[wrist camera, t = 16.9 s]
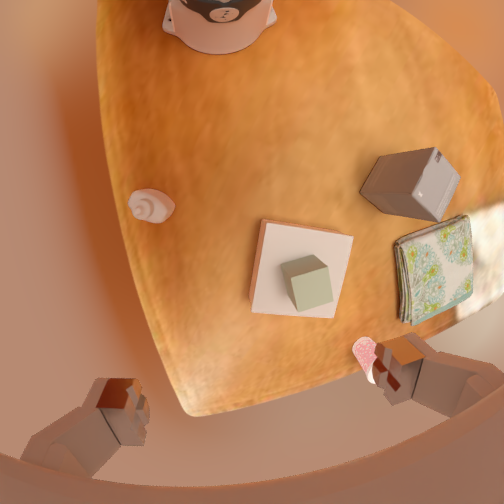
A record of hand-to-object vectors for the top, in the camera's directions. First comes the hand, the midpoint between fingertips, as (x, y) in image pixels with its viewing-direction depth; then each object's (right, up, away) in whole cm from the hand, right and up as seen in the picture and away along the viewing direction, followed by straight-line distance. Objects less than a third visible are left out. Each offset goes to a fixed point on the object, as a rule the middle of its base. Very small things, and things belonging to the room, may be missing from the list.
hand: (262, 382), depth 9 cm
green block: (+7, +1, +33) cm, 34 cm away
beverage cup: (+22, -15, +45) cm, 52 cm away
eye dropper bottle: (-15, +12, +34) cm, 39 cm away
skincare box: (+22, +16, +37) cm, 46 cm away
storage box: (+7, +2, +39) cm, 40 cm away
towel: (+37, +1, +43) cm, 57 cm away
